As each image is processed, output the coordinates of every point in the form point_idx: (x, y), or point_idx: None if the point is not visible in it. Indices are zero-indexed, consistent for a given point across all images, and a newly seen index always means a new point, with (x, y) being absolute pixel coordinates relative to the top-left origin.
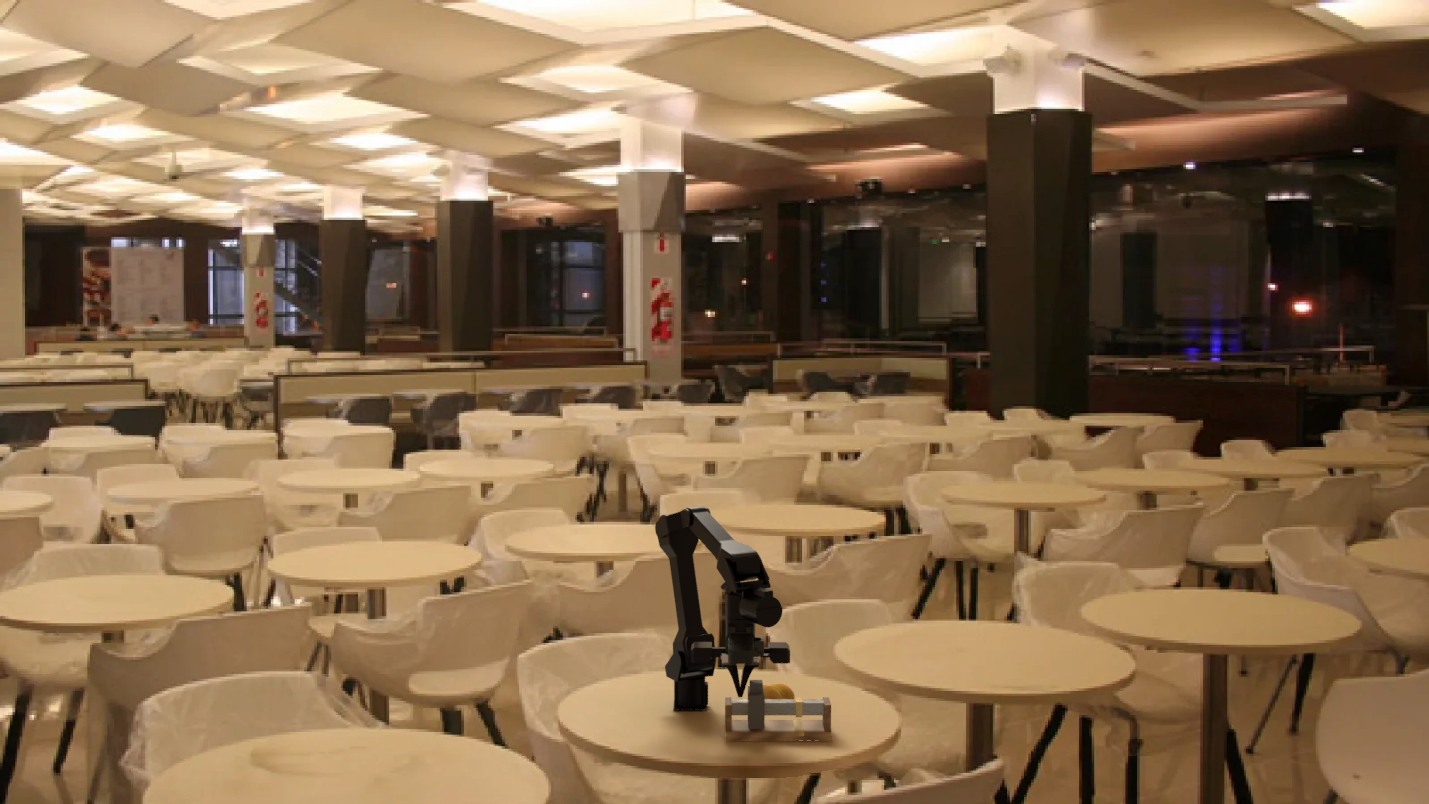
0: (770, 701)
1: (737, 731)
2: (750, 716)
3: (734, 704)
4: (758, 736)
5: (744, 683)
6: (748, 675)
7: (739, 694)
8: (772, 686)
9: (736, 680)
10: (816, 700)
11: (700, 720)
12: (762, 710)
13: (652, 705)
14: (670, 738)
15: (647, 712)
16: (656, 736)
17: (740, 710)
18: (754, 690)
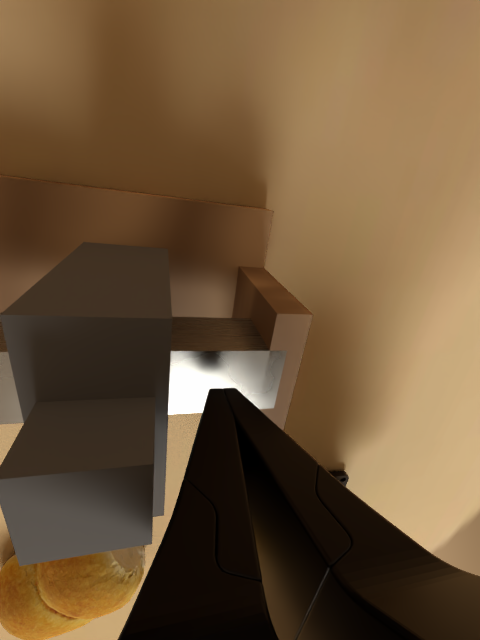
0: (2, 382)
1: (214, 269)
2: (157, 264)
3: (251, 347)
4: (119, 191)
5: (211, 460)
6: (173, 556)
7: (232, 396)
8: (66, 619)
9: (299, 475)
10: None
11: (300, 416)
12: (68, 269)
13: (374, 493)
14: (430, 262)
15: (400, 455)
16: (457, 285)
17: (211, 329)
18: (112, 411)
